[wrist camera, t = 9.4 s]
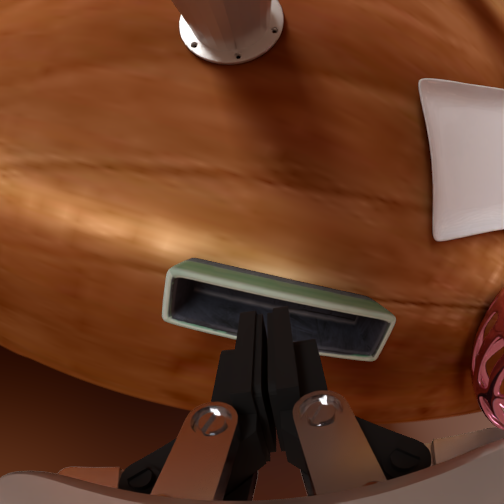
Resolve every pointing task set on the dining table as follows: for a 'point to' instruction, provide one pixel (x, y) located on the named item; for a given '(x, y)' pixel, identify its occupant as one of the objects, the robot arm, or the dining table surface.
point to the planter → (273, 296)
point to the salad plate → (465, 156)
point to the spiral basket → (478, 364)
